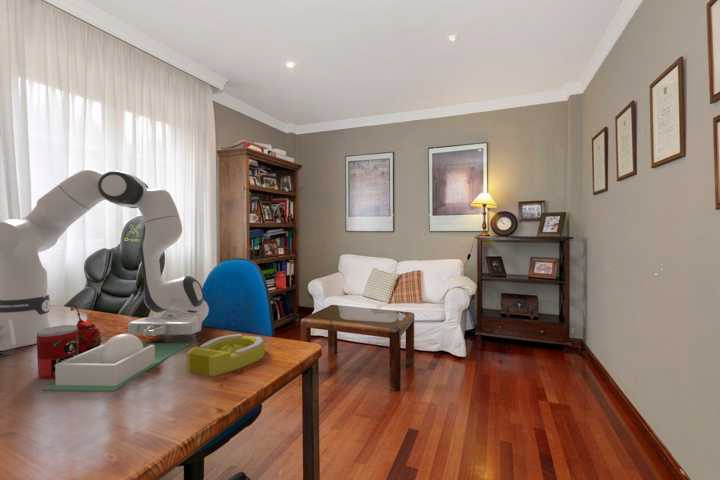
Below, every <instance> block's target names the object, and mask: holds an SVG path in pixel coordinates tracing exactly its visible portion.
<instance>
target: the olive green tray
mask: <svg viewBox="0 0 720 480" xmlns="http://www.w3.org/2000/svg"><path fill="white" fill-rule="evenodd" d="M264 356H265V341H264V339H263V338H262V337H261V336H253V335H243V333H238V334H237V333H236V334H229V335H222V336H218V337H215V338H213V339H210V340H208V341H206V342H204V343H203V344H201V345H200V346H199V347H198V346H193V347H192V348H191V349H189V350H188V351H187V352H186V371H187V372H189V373H195V374H200V375H205V376H210V377H211V376H212V377H215V376H219V375H222V374H226V373H229V372H233V371H235V370H238V369H241V368H244V367H246V366H248V365H251V364H254V363H256V362H258V361H259V360H261V359H262V358H264Z"/></svg>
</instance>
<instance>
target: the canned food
mask: <svg viewBox="0 0 720 480" xmlns="http://www.w3.org/2000/svg"><path fill="white" fill-rule="evenodd" d="M36 354H37V355H36V357H37V375H38V377H39V378H40V379H42V380H51V379H56V376H55V364H58V363H60V362H63V361H65V360H67V359H70V358H72V357H74V356H77V355H79V354H78V327H77V326H76V325H73V324H72V325H71V324H68V325H67V324H66V325H64V324H63V325H57V326H52V327H50V328H45V329H42V330H40V331H38V332H37V343H36Z"/></svg>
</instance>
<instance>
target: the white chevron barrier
mask: <svg viewBox="0 0 720 480" xmlns="http://www.w3.org/2000/svg"><path fill="white" fill-rule="evenodd" d="M104 344H105V343H104ZM104 344H100V346H98V347H96V348H93V349H91V350H89V351H86V352H84V353H82V354H78V355H77V356H74V357H72V358H70V359H67V360H65V361H63V362H60V363H58V364H55V376H56V378H55V383H56V385H85V386H116V385H118V384H120V383H121V382H123V381H125V380H126V379H128V378H130V377H131V376H133V375H135V374H136V373H138V372H139V371H141V370H143V369H144V368H146V367H148V366H149V365H151V364H153V363H154V362H155V345H149V346H148V347H146V348H144V349H142V350H140V351H138V352H136V353H134V354H132V355H130V356H128V357H126V358H124V359H122V360H120V361H118V362H116V363H114V364H103V363H102V361H101V356H100V355H101V350H102V347H103V346H104Z"/></svg>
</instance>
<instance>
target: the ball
mask: <svg viewBox="0 0 720 480" xmlns="http://www.w3.org/2000/svg"><path fill="white" fill-rule="evenodd" d="M142 343H143V341H142V340H141V339H140V338H139V337H138V336H136V334H129V333H121V334H117V335H114V336H112V337H110V338H109V339H108V340H107V341H106V342H104V346H103V347H102V350H101V355H100V356H101V361H102V363H103V364H114V363H116V362H118V361H120V360H122V359H124V358H126V357H128V356H130V355H132V354H134V353H136V352H138V351H140V350H142V349H143V344H142Z"/></svg>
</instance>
